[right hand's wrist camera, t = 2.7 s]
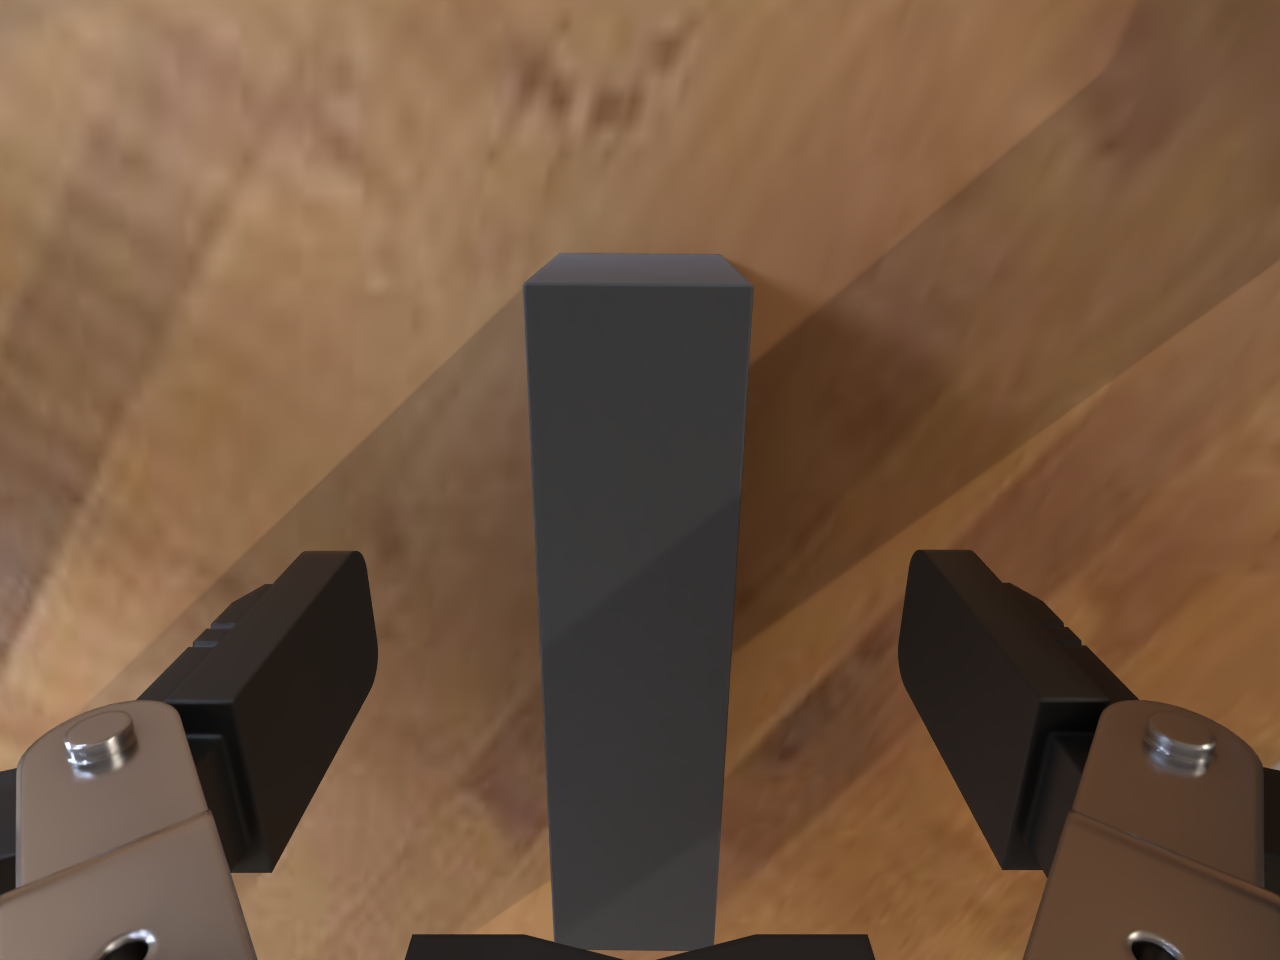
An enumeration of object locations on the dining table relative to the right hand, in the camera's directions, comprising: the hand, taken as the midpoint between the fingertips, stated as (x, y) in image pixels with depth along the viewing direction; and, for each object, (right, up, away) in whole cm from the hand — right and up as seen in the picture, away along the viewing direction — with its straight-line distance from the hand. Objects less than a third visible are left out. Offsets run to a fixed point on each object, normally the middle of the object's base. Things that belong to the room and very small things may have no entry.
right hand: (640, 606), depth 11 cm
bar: (0, -1, +21) cm, 21 cm away
